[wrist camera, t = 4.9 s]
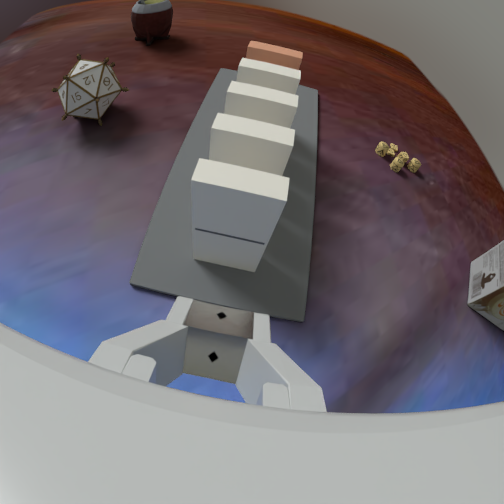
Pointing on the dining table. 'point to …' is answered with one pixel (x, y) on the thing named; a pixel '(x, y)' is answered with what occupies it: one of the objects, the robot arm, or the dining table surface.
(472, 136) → the dining table surface
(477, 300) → the coffee box
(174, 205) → the mat
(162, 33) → the mate gourd
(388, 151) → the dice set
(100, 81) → the game die
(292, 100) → the domino
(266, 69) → the domino
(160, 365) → the robot arm
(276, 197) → the domino
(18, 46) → the dining table surface
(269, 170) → the domino
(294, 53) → the domino
